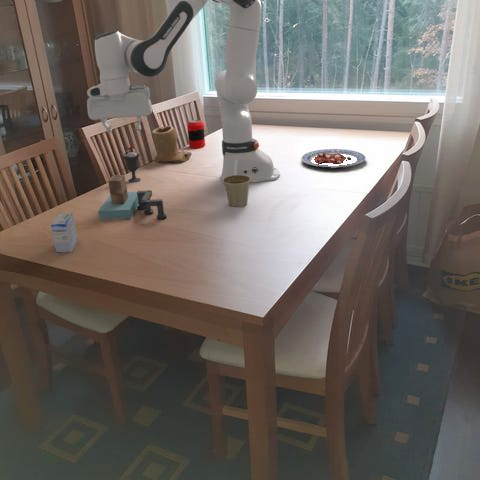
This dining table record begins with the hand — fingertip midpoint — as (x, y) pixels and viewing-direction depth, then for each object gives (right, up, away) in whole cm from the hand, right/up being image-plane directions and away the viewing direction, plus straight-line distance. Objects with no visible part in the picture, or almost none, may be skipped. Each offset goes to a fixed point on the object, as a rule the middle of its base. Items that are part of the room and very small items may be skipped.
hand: (124, 131), depth 166 cm
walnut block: (-2, -22, +4) cm, 23 cm away
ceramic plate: (+76, -4, +43) cm, 87 cm away
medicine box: (-12, -37, -20) cm, 44 cm away
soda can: (+17, +9, +76) cm, 79 cm away
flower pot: (+37, -23, +5) cm, 44 cm away
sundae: (-3, -12, +33) cm, 36 cm away
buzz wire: (+9, -27, +1) cm, 28 cm away
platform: (-2, -25, +5) cm, 26 cm away
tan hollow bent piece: (+8, -1, +56) cm, 56 cm away
